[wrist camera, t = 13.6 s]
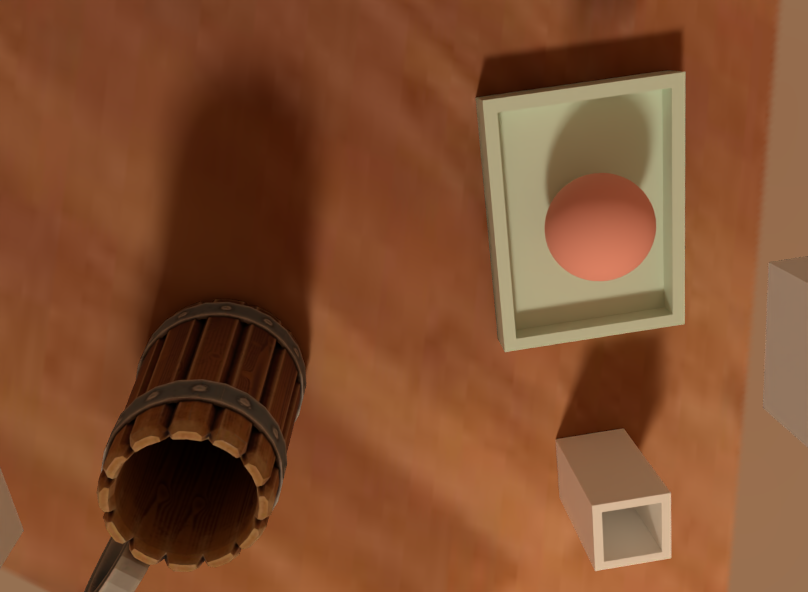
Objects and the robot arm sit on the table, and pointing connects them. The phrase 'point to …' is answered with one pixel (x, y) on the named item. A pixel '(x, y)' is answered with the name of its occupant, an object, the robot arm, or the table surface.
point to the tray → (559, 165)
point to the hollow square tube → (614, 499)
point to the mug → (199, 443)
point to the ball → (600, 227)
